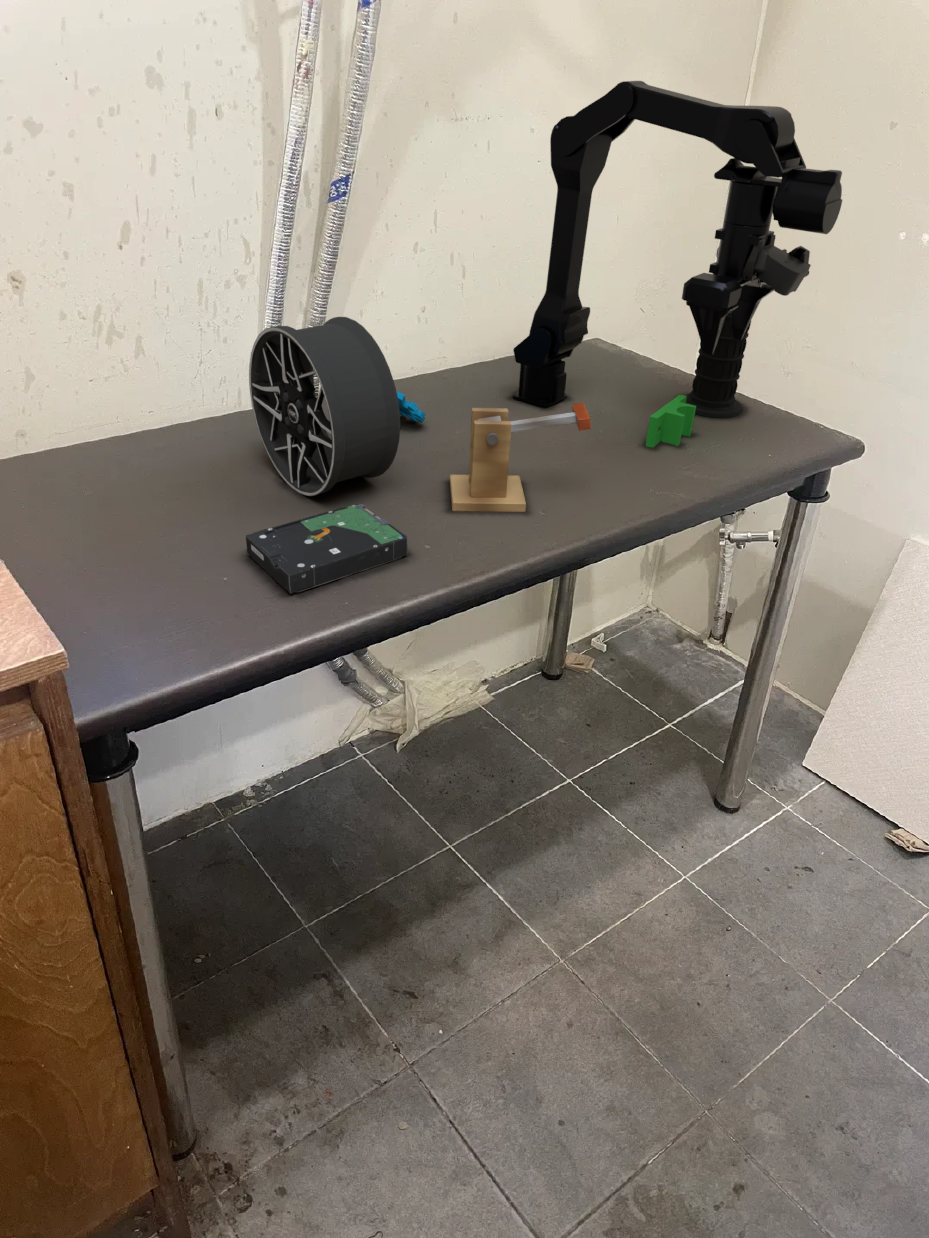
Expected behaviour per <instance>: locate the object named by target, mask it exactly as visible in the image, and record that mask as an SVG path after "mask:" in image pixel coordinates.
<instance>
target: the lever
mask: <svg viewBox="0 0 929 1238" xmlns="http://www.w3.org/2000/svg"><path fill="white" fill-rule="evenodd" d="M585 405H586V404H585V403H584V402H579V403H573V404H571V411H572V412H571V411H570V412H566V413H560V414H559V413H557V414H551V415H544V416H538V417H531V418H525V419H518V420H510V421H511V424H512V426H511V433H515V432H522V431H523V432H524V431H529V430H530V431H531V430H536V429H543V428H550V427H557V426H565V425H570V424H576V427H577V429H578V431H579V432H580V431H587V430H591V429H592V424H591V423H592V422H591V417H590V414H589V412H588V410H587V408H586V406H585ZM478 421H501V417H500V416H495V417H488V418H481V419H478Z"/></svg>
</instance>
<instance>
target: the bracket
mask: <svg viewBox="0 0 929 1238" xmlns="http://www.w3.org/2000/svg"><path fill="white" fill-rule="evenodd" d="M495 416H500V417H501V421H478V419H481V418H488V417H495ZM470 419H471V420H470V439H469V460H468V461H469V462H468V474H449V491H450V502H451V511H453V512H507V513H508V512H510V513H511V512H513V513H515V512H517V513H518V512H519V513H525V512H526V509H527V503H526V502H527V501H526V498H525V494H524V490H523V485H522V481H521V477H520V475H509V465H510V454H511V453H510V450H511V440H512V439H511V437H512V432H511V426H512V424H511V421H512V420H509V408H505V407H503V408H501V407H498V408H497V407H471V417H470Z"/></svg>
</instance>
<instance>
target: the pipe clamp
mask: <svg viewBox="0 0 929 1238" xmlns="http://www.w3.org/2000/svg"><path fill="white" fill-rule="evenodd" d="M684 395H685V394H678V395H677V396H676V397H674V398H673V399H672V400H670V401H669V402H668V403H666V404H665V405H664V406H662V407H661V408H660V409H659V410H657V411H656V412H654V413H653V414H652V415H650V416H649V422H648V427H647V434H646V440H645V447H649V448H652V449H653V448H655V446H657V445H658V444H659V443H661V442H662V443H667V444H669V445H673V446H676V447H679V446H680V444H681V439H682V436H683V437H690V436H691V435H692V432H693V431H692V430H693V425H694V419H695V415H696V414H695V410H696V406H694V405H690V404H686V398H687V396H684Z"/></svg>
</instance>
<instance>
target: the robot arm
mask: <svg viewBox="0 0 929 1238" xmlns="http://www.w3.org/2000/svg"><path fill="white" fill-rule="evenodd" d="M635 120H636V121H639V122H643V123H647V124H651V125H654V126H658V127H661V128H664V129H668V130H672V131H676V132H679V133H683V134H687V135H689V136H692V137H697V138H701V139H703V140H706V142H709V143H711V144H713V145H714V146H715V147H716V148H717V149H719V150H720V151H721V152H723V153H725V154H726V155H728V156H730V157H732V158H730V159H728V160H727V162H726V164H725V165H723V166H722V167H721V168H720V169H718V170H717V171H716V172H714V174H713V177H714V179H716V180H720V181H729V187H728V192H727V198H726V204H725V210H724V215H723V221H722V226H721V228H717V229H716V230H715V233H714V239H715V240H719V244H718V247H719V249H718V248H717V249H718V255H717V257H716V261H715V262H712V263H710V264H709V268H708V269H709V270H708V272H702V273H700V274H697V275H694V276H692V277H690V278H689V279H688V280H686V281H685V282H684V283H683V288H682V293H681V300H683V301H685V304H686V306H688V307H689V310H690V312H691V315H692V317H693V320H694V323H695V327H696V330H697V333H698V334H697V335H698V336H699V340H700V341H701V344H702V347H703V351H704V354H706V355H713V353H714V350H715V348H716V345H717V342H718V339H719V336H720V332H721V329H722V326H723V323H724V320H725V317H726V316H727V315H728V314H729V313H731V320H732V331H733V338H734V339H737V340H741V339H742V338H743V336H744V334H745V332H746V330H747V328H748V326H749V323H750V321H751V322H752V319H753V317H754V315H755V313H756V311H757V309H758V307H759V305H760V303H761V301H763V299H765V298H766V297H767V296H769V295H770V294H771V293H773V292H775V293H777V294H779V295H780V296H783V297H784V296H785V297H786V296H789V295H790V294H791V293H795V292H796V291H798V288H799V287H800V285H801V284H802V282H803V281H804V279H805V278H806V277H808V276H809V275H810V268H811V266H812V265H811V264H810V263H809V262H810V254H811V251H810V250H808V249H807V248H806V247H804V246H802V245H799V246H797V247H795V248H793V249H792V250H790V251H789V252H788V250H787V249H786V248H783V249H781V248H779V247H777V246H776V245H775V241H776V234H775V230H774V231H773V230H770V228H771V223H772V219H773V220H774V221H777V224H778V226H779V228H782V229H788V230H794V231H795V230H796V231H801V232H808V233H816V234H822V235H828V234H829V233H830V232H831V231H832V230H833V228H834V227H835V225H836V222H837V220H838V218H839V215H840V212H841V209H842V204H843V199H842V191H843V189H842V183H841V180H842V175H843V171H842V170H838V169H827V170H825V169H824V170H822V169H821V170H820V169H814V168H807V165H806V163H805V161H804V158H803V156H802V153H801V151H800V148H799V146H798V143H797V141H796V139H795V133H796V128H795V127H796V126H795V121H794V119H793V116H792V113H791V112H790V111H789V110H788V109H786V108H784V107H782V106H775V105H774V106H772V105H734V104H733V105H732V104H731V105H729V104H723V103H719V102H714V101H711V100H707V99H703V98H700V97H696V96H692V95H688V94H684V93H681V92H677V91H673V90H668V89H666V88H661V87H657V86H653V85H650V84H648V83H646V82H645V81H642V80H626V81H625V80H623V81H620V82H619V83H618V82H617V84H616V85H615V86H614V87H612V88H611V89H610V90H609V91H608V92H607V93H605V94H604V95H603V96H601V97H599V98H598V99H596V100H594V101H593V102H591V103H590V104H588V105H586V106H585V107H583V108H582V109H580V110H579V111H578V112H577V113H575V114H574V115H568V116H565V117H562V118H561V119H559V120H558V121H557V123H556V124H554V125H553V127H552V129H551V133H550V136H549V137H550V140H549V143H550V144H549V146H550V147H549V148H550V149H549V150H550V167H551V171H552V173H553V176H554V180H555V183H556V187H557V188H556V190H557V191H556V200H555V206H554V216H553V226H552V233H551V242H550V250H549V258H548V259H549V260H548V266H547V267H548V268H547V277H546V284H545V285H546V287H545V292H544V294H543V297H542V299H541V300H540V302H539V304H538V306H537V308H536V309H535V312H534V313H533V317H532V321H531V325H530V329H529V333H528V335H527V337H526V338H524V339H523V340H521V342H520V343H518V344H517V345H516V346H515V347H514V348H513V355H514V361H515V363H517V364H520V365H519V367H520V369H519V380H518V381H519V382H518V391H517V392H515V393H513V394H512V399H515V400H518V401H522V402H525V403H527V404H532V405H535V406H538V407H542V408H549V407H551V406H553V405H555V404H557V403H559V402H561V401H563V400H565V399H567V397H568V394H567V393H566V384H567V372H566V370H565V369H566V361H565V360H563V359H566V358H570V357H571V355H572V354H573V351H574V349H575V348H577V347H578V346H579V345H580V344H581V343H582V342H583V340H584V337H585V336H586V335H588V334H589V329H588V321H589V318H590V316H591V315H590V314H591V307H589V306H583V304H582V301H581V298H580V294H579V291H580V285H581V278H582V270H583V261H584V254H585V247H586V239H587V234H588V233H587V232H588V224H589V218H590V211H591V210H590V209H591V203H592V195H593V191H594V188H595V186H596V184H597V182H598V180H599V178H600V176H601V174H602V173H603V171H604V169H605V167H606V163H607V159H608V157H609V152H610V149H611V146H612V143H613V141H615V140H616V139H618V138H619V137H620V136H621V135H623V134H624V133H625V132H626V131H627V130H628V129H629V128H630V126H631V125H632V124H633V123H634V122H635ZM744 164H748V165H744ZM751 165H753V166H751ZM772 217H773V218H772ZM713 273H714V274H718V275H714V274H713ZM700 341H699V342H700Z"/></svg>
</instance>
